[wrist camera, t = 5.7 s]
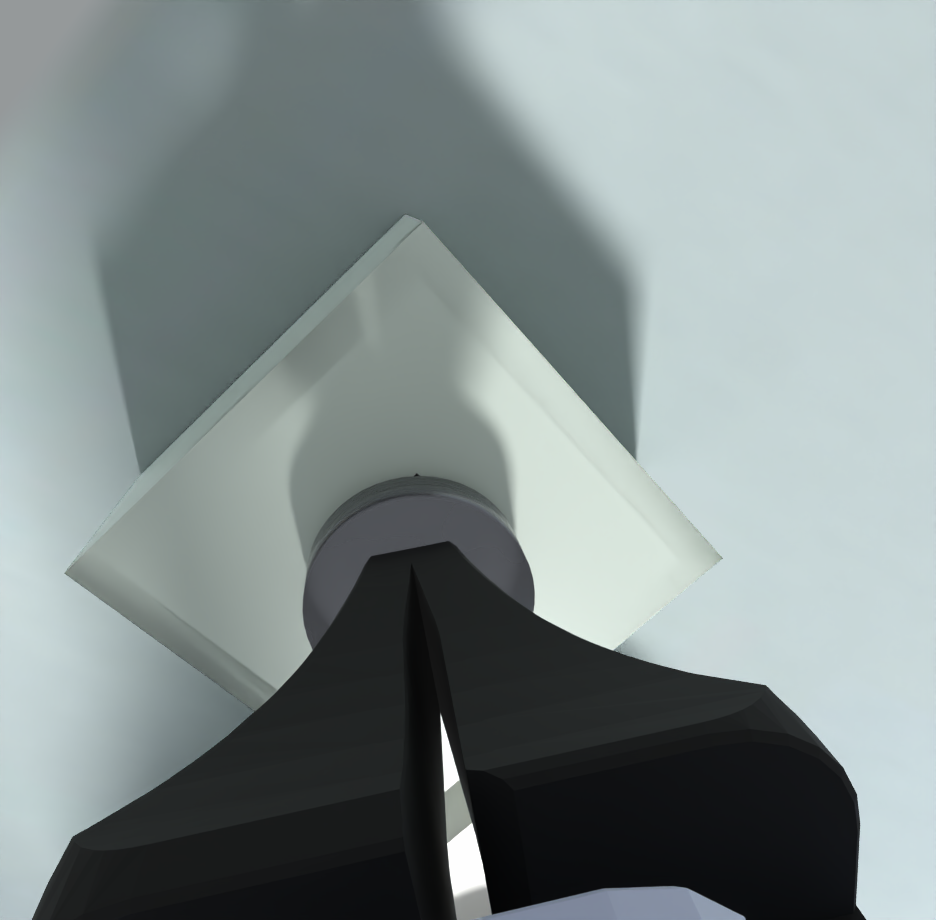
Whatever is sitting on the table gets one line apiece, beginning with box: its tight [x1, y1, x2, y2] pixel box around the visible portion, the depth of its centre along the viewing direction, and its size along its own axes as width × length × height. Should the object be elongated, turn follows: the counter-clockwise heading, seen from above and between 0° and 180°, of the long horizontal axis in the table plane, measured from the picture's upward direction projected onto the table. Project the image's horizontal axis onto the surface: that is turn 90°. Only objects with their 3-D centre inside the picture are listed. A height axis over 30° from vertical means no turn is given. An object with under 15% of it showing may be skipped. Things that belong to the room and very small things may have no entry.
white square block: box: [445, 780, 492, 920], centre depth 19 cm, size 8×8×4 cm
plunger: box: [302, 473, 535, 650], centre depth 14 cm, size 5×5×5 cm
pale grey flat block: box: [65, 214, 723, 791], centre depth 15 cm, size 8×8×4 cm
